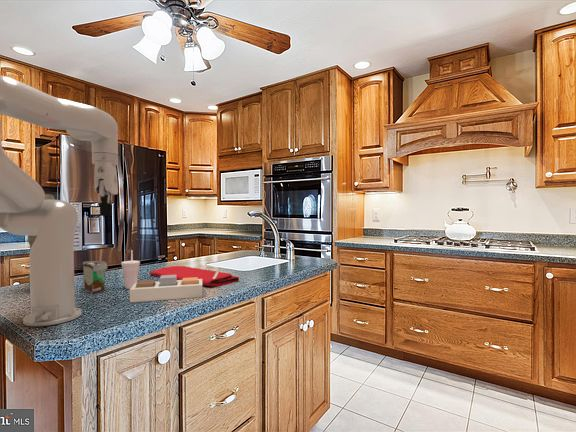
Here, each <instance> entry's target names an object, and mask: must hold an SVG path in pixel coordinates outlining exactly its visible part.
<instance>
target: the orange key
mask: <svg viewBox="0 0 576 432" xmlns="http://www.w3.org/2000/svg"><path fill="white" fill-rule="evenodd" d="M189 284H198V277H192V278H183V279H182V285H189Z"/></svg>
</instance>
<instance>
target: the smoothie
mask: <svg viewBox="0 0 576 432" xmlns="http://www.w3.org/2000/svg"><path fill="white" fill-rule="evenodd" d="M133 256H134V254H133V249H131V250H130V260H125V261H121V263H120V265H121V267H122V273H123V274H122V275H123V280H124V287H125V290H130V289H131V288H132V286H133V285H134V284H135V283H137V282H138V279H139V278H138V277H139V269H140V265H141V261H140V260H134V259H133V258H134V257H133Z"/></svg>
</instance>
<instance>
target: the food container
mask: <svg viewBox="0 0 576 432" xmlns="http://www.w3.org/2000/svg"><path fill="white" fill-rule="evenodd" d="M82 268H83V290H85V292H86V291H87V292H89V293H90V294H92V295H93V294H94V295H95V294H98V293H101V292H104V290H105V286H106V285H105V283H106V282H105V281H106V270H107V269H108V264H107V262H106V261H104V260H102V261H101V260H91V261H90V260H89V261H83V262H82Z"/></svg>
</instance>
